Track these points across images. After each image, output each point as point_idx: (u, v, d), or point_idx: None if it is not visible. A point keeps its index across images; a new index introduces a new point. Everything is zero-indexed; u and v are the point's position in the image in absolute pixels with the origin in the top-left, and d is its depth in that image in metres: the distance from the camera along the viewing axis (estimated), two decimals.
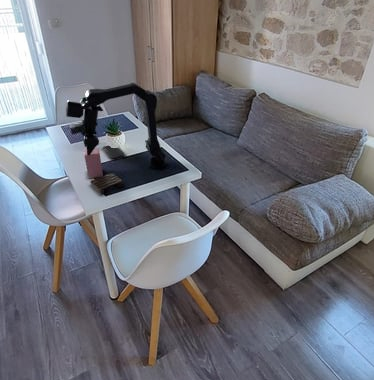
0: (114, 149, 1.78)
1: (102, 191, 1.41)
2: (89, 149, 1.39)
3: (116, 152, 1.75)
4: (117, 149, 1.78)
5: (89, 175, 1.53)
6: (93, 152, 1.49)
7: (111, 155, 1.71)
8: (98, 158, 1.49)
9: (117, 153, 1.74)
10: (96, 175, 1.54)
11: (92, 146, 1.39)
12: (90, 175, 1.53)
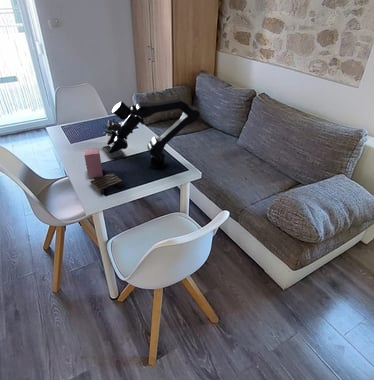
0: None
1: (102, 191, 1.41)
2: (113, 148, 1.46)
3: (116, 152, 1.75)
4: None
5: (89, 175, 1.53)
6: (93, 152, 1.49)
7: (111, 155, 1.71)
8: (98, 158, 1.49)
9: (117, 153, 1.74)
10: (96, 175, 1.54)
11: (118, 147, 1.46)
12: (90, 175, 1.53)
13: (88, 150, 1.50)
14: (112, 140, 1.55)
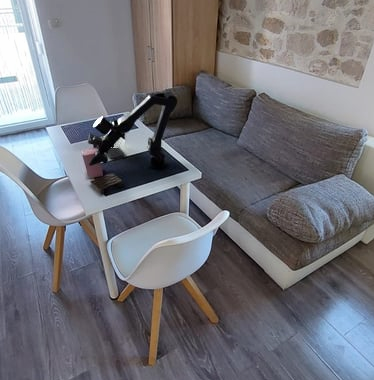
0: (114, 149, 1.78)
1: (102, 191, 1.41)
2: (94, 161, 1.48)
3: (116, 152, 1.75)
4: (117, 149, 1.78)
5: (89, 175, 1.53)
6: (91, 152, 1.48)
7: (111, 155, 1.71)
8: None
9: (117, 153, 1.74)
10: (96, 175, 1.54)
11: (98, 160, 1.48)
12: (90, 175, 1.53)
13: (86, 150, 1.50)
14: None
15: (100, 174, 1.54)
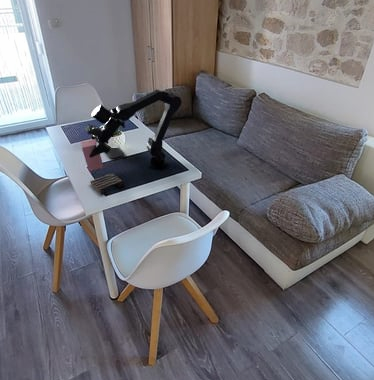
0: (114, 149, 1.78)
1: (102, 191, 1.41)
2: (94, 152, 1.43)
3: (116, 152, 1.75)
4: (117, 149, 1.78)
5: (89, 168, 1.48)
6: (90, 144, 1.43)
7: (111, 155, 1.71)
8: None
9: (117, 153, 1.74)
10: (96, 167, 1.49)
11: (99, 151, 1.43)
12: (90, 167, 1.48)
13: (85, 142, 1.44)
14: None
15: (101, 166, 1.49)
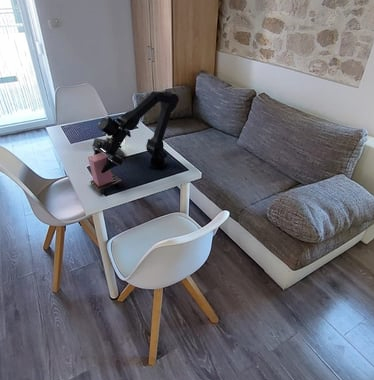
0: None
1: (102, 191, 1.41)
2: (107, 167, 1.37)
3: (116, 152, 1.75)
4: None
5: (99, 183, 1.41)
6: (100, 157, 1.38)
7: None
8: None
9: (117, 153, 1.74)
10: (106, 181, 1.43)
11: (111, 165, 1.37)
12: (100, 182, 1.42)
13: (93, 156, 1.39)
14: None
15: (110, 180, 1.45)
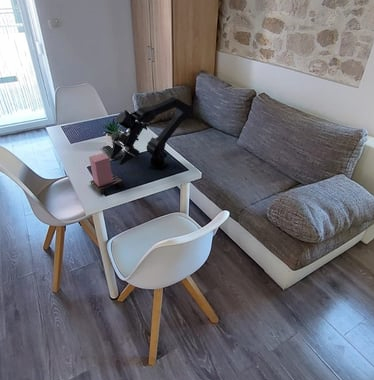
0: None
1: (102, 191, 1.41)
2: (124, 159, 1.42)
3: None
4: None
5: (99, 183, 1.42)
6: (102, 157, 1.38)
7: None
8: (108, 163, 1.40)
9: None
10: (106, 182, 1.44)
11: (128, 157, 1.42)
12: (100, 183, 1.42)
13: (94, 156, 1.39)
14: (115, 152, 1.49)
15: (110, 180, 1.45)
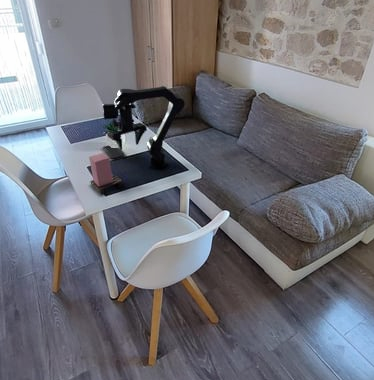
0: (114, 149, 1.78)
1: (102, 191, 1.41)
2: (118, 144, 1.49)
3: (116, 152, 1.75)
4: (117, 149, 1.78)
5: (99, 183, 1.42)
6: (102, 157, 1.38)
7: (111, 155, 1.71)
8: (108, 163, 1.40)
9: (117, 153, 1.74)
10: (106, 182, 1.44)
11: None
12: (100, 183, 1.42)
13: (94, 156, 1.39)
14: (137, 139, 1.55)
15: (110, 180, 1.45)
